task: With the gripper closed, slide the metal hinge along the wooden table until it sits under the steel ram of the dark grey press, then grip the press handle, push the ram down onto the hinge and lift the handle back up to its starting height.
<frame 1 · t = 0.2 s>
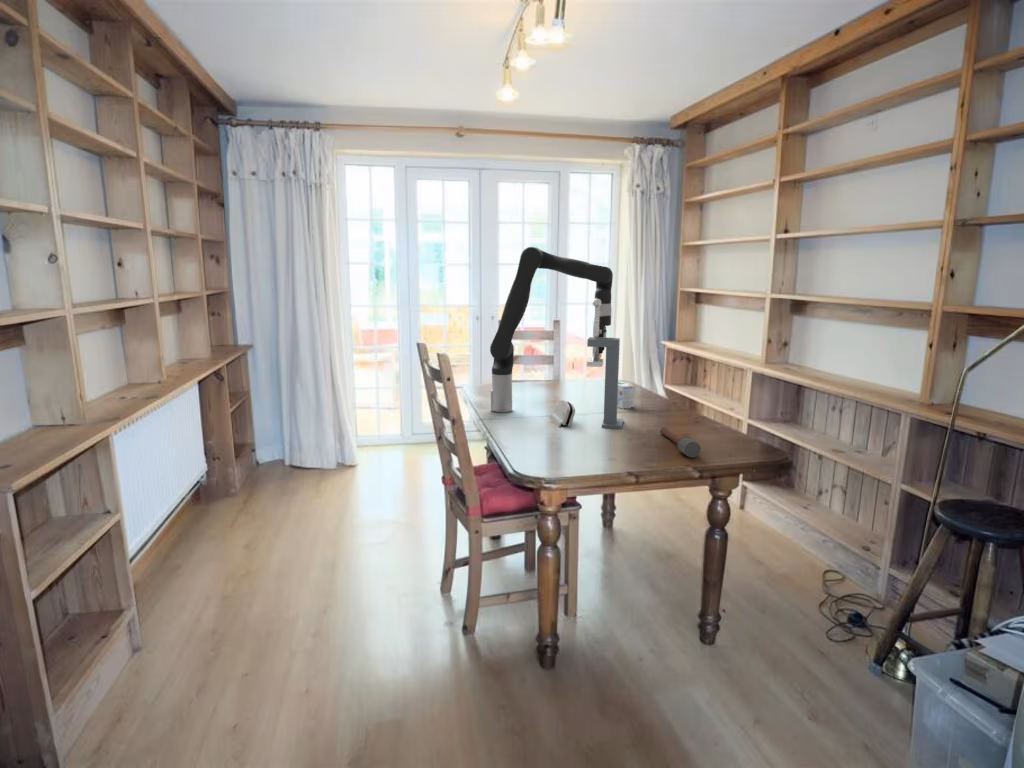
hand: (600, 351, 252), 29 cm above the table, tool pointing down, fingers open, 8 cm apart
press frame: (610, 424, 244), on the table
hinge: (562, 422, 249), on the table
mallet: (676, 446, 215), on the table
ram: (597, 330, 244), point 39 cm above the table, slide at -0.1 cm
light bulb box: (621, 406, 277), on the table
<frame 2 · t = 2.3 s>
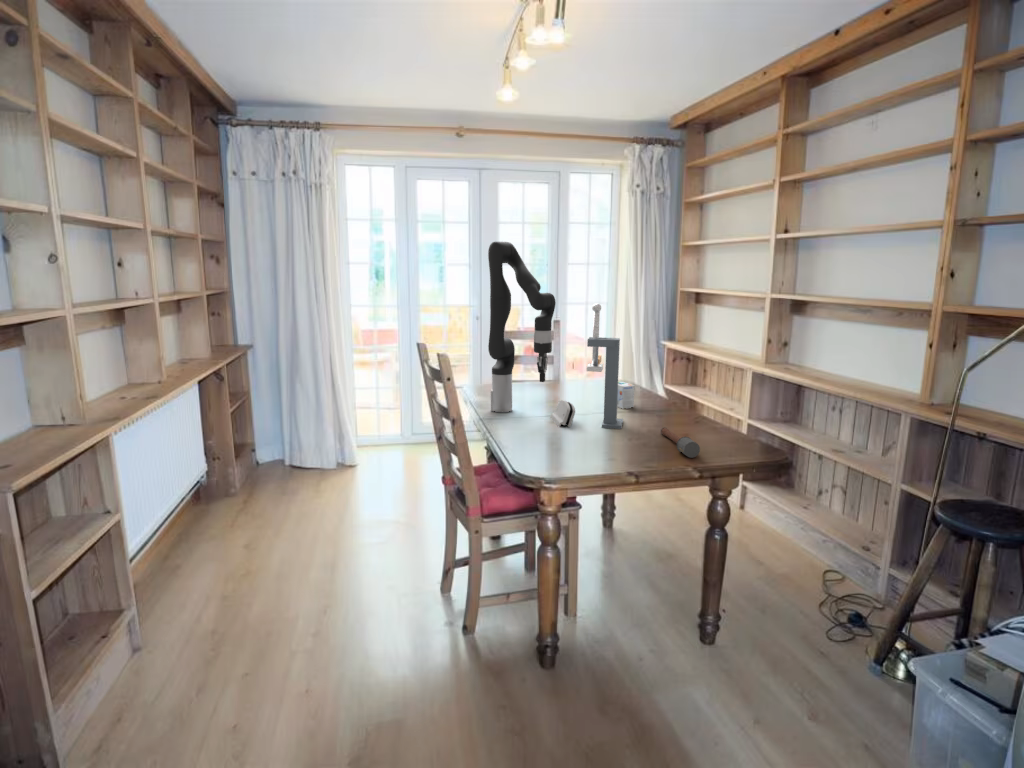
hand: (542, 381, 247), 17 cm above the table, tool pointing down, fingers closed
ram: (597, 335, 244), point 37 cm above the table, slide at -2.1 cm
everything else where it was.
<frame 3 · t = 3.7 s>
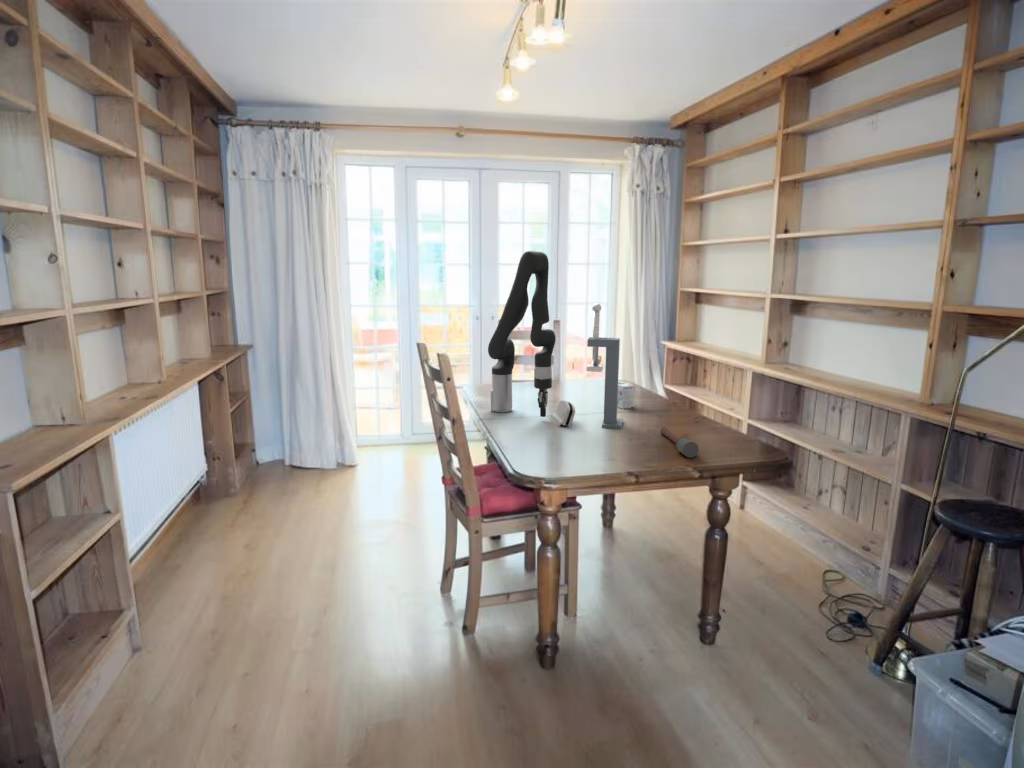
hand: (543, 416, 250), 2 cm above the table, tool pointing down, fingers closed
nothing on the table moved.
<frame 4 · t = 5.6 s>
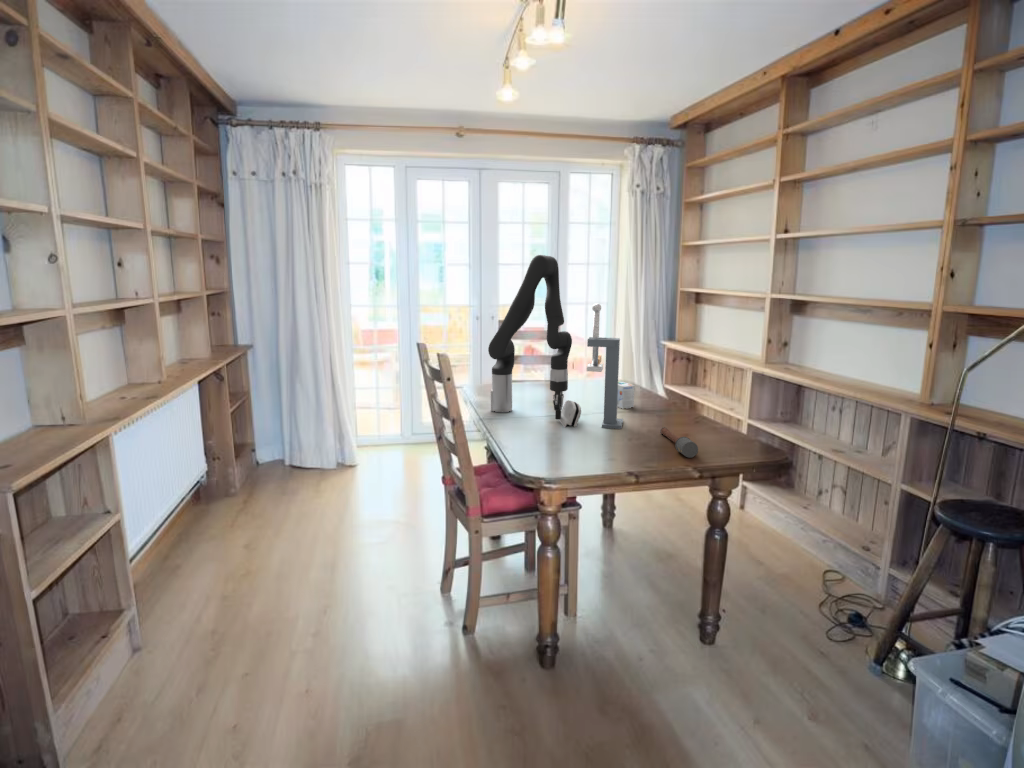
hand: (558, 418, 249), 1 cm above the table, tool pointing down, fingers closed
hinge: (569, 422, 248), on the table
everything else where it was.
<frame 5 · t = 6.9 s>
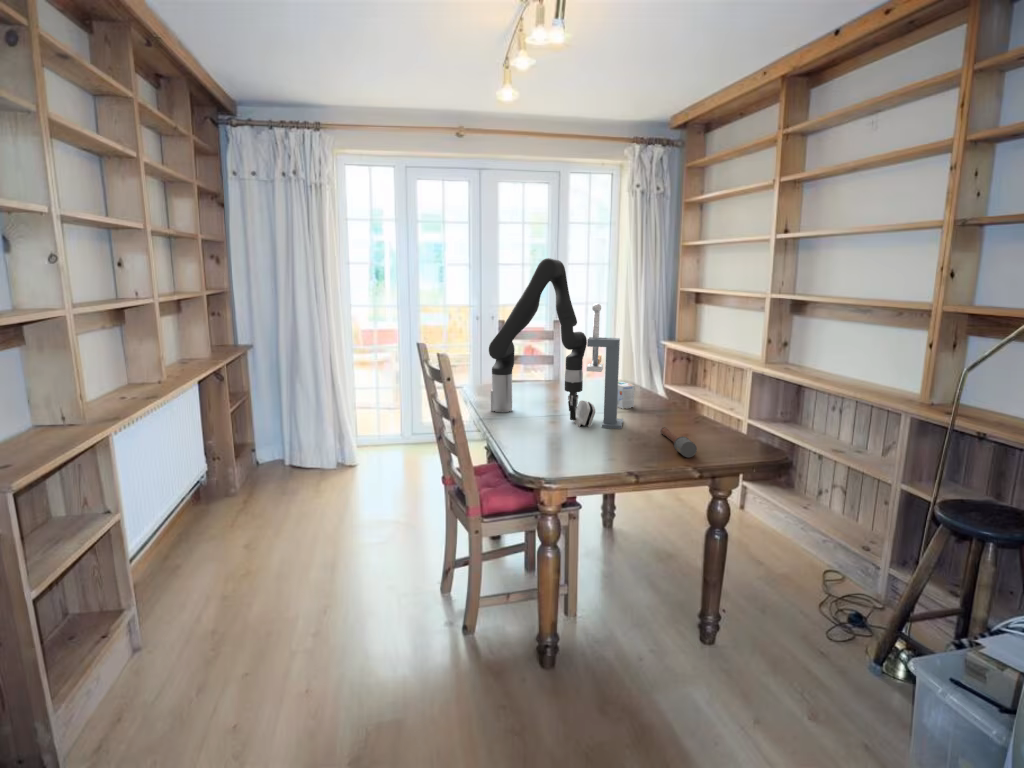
hand: (572, 419, 247), 1 cm above the table, tool pointing down, fingers closed
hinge: (583, 422, 248), on the table, touching gripper
everything else where it was.
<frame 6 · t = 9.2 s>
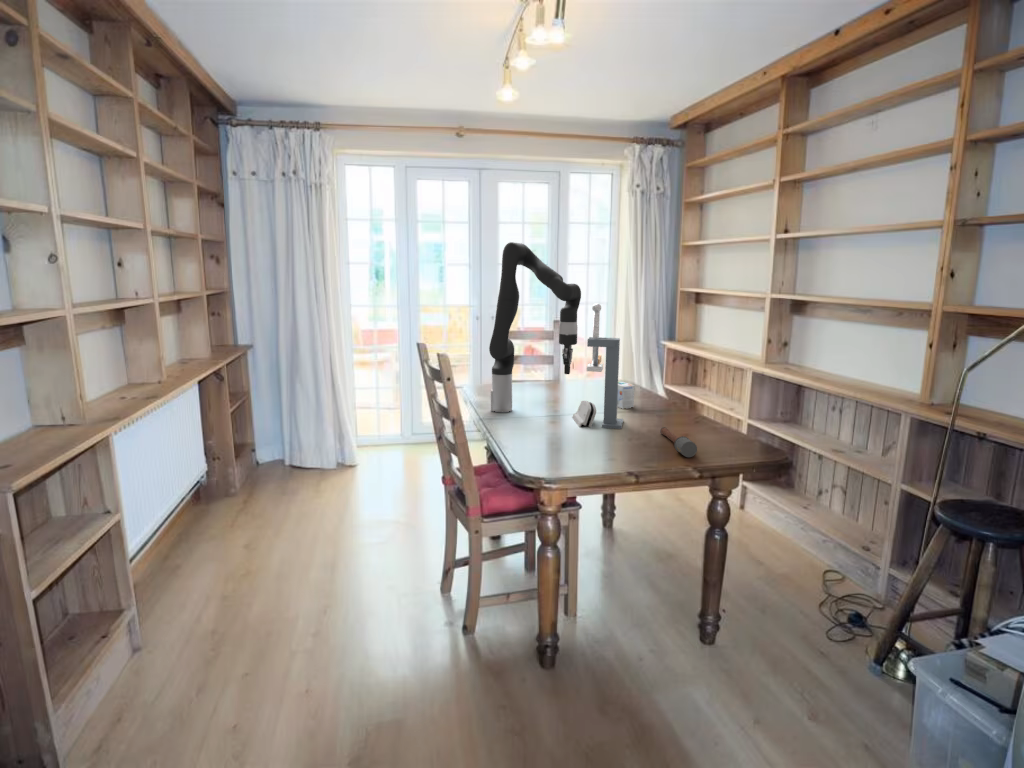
hand: (567, 373, 244), 21 cm above the table, tool pointing down, fingers closed
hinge: (584, 422, 248), on the table
everything else where it was.
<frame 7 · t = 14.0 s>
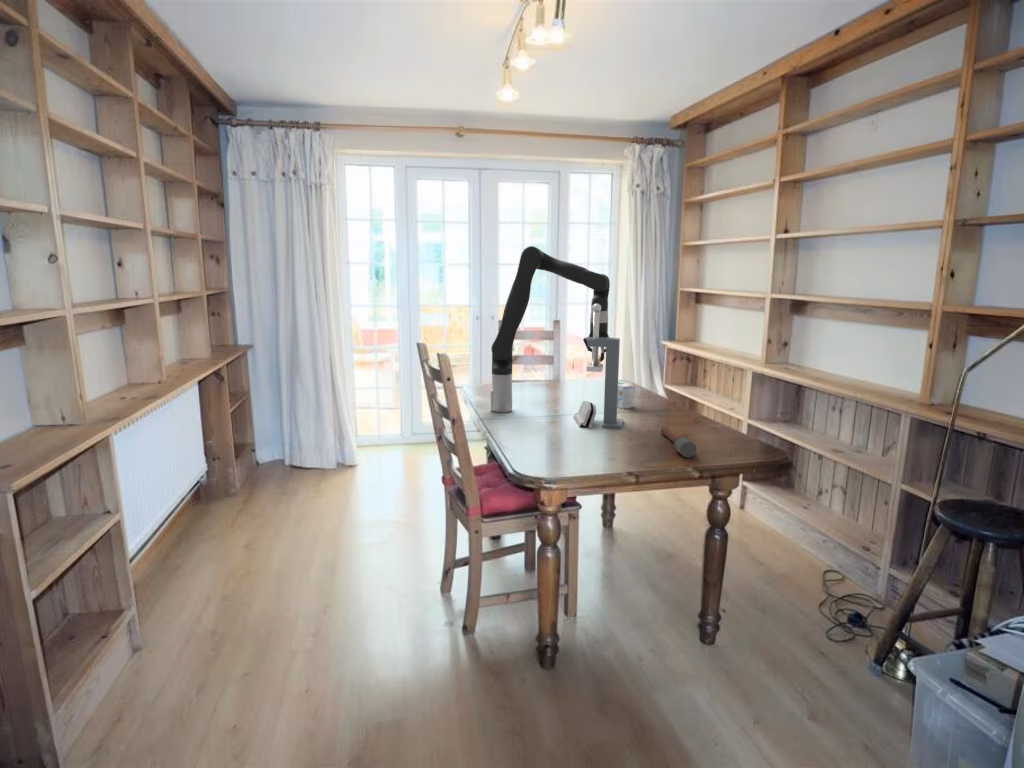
hand: (597, 360, 254), 25 cm above the table, tool pointing down, fingers closed on ram, 2 cm apart
ram: (597, 335, 244), point 36 cm above the table, slide at -2.2 cm, touching gripper
everything else where it was.
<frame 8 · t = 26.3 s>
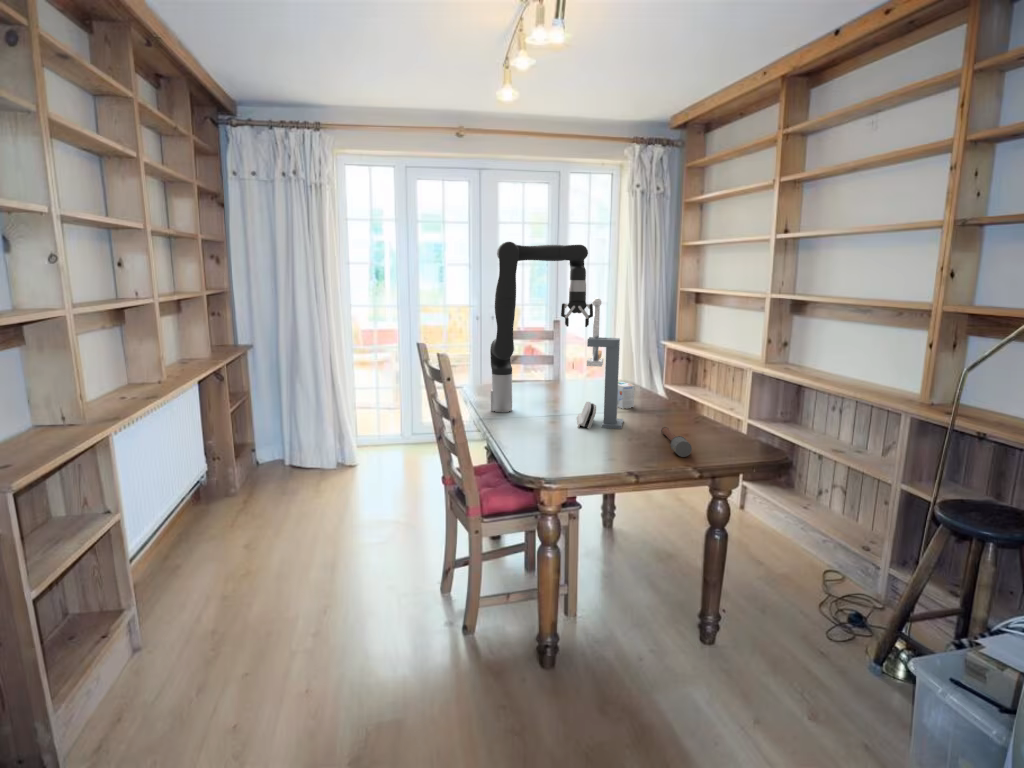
hand: (576, 326, 264), 38 cm above the table, tool pointing down, fingers open, 8 cm apart
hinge: (586, 424, 246), on the table
ram: (597, 330, 244), point 39 cm above the table, slide at 0.0 cm
at the end: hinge inside the target area (0.2 cm from its centre), on the table; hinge tilted 0°; ram slide at 0.0 cm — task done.
